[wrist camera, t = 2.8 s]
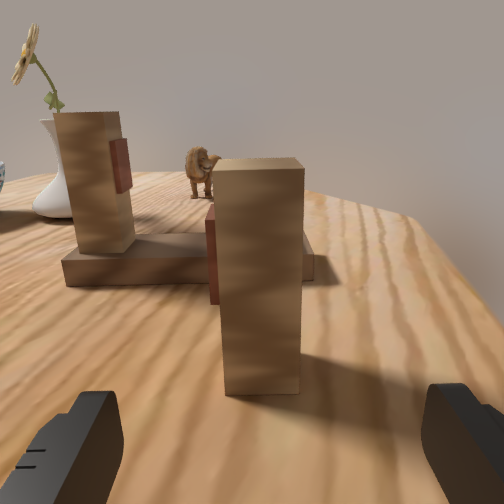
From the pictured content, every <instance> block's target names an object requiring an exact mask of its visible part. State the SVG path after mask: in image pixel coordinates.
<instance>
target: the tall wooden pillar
mask: <svg viewBox="0 0 504 504" xmlns="http://www.w3.org/2000/svg"><path fill="white" fill-rule="evenodd" d="M304 172H305V168H304V167H303V166H302V165H301V164H300V163H299V162H298V161H297V160H296V159H295V158H258V159H257V158H255V159H219V160H218V162H217V163H216V165H215V166H214V168H213V170H212V180H213V197H214V204H211V206H210V208H209V211H208V213H207V216H206V218H205V229H206V244H207V258H208V273H209V288H210V302H211V305H220V316H221V333H222V350H223V367H224V384H225V396H230V395H272V394H299V389H300V346H301V303H302V260H303V217H304V174H305V173H304Z"/></svg>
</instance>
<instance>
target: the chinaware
mask: <svg viewBox="0 0 504 504" xmlns="http://www.w3.org/2000/svg"><path fill="white" fill-rule="evenodd" d="M4 175H5V166H4V163H3V162H0V192H1V189H2V186H3V183H4Z"/></svg>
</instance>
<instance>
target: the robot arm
mask: <svg viewBox="0 0 504 504" xmlns="http://www.w3.org/2000/svg"><path fill="white" fill-rule="evenodd" d="M421 440H422V446H423V450H424V453H425V456H426V458H427V460H428V462H429V464H430V466H431V468H432V470H433V472H434V474H435V476H436V478H437V480H438V482H439V484H440V486H441V488H442V490H443V491H444V493H445V495H446V497H447V499H448V501H449V503H450V504H504V415H503V414H502V413H500V412H499V411H498V410H496V409H495V408H493V407H492V406H491V405H489V404H483V405H481V404H480V402H479V401H478V400H477V398H476V397H475V396H474V395H473V393H472V392H471V391H470V390H469V388H468V387H467V386H466V385H465V384H463V383H447V384H431V385H430V386H429V388H428V392H427V398H426V404H425V410H424V416H423V422H422V428H421ZM123 448H124V437H123V431H122V426H121V420H120V415H119V409H118V404H117V398H116V395H115V393H114V391H84V392H81V393H80V394H79V396H78V397H77V399H76V401H75V402H74V404H73V406H72V407H71V409H70V411H69V412H68V413H67V414H57V415H56V416H55V417H54V418H53V419H52V420H50V421H49V422H48V423H47V424H46V425H45V426H43V427H42V428H41V429H40V430H39V431H38V433H37V434H36V436H35V437H34V439H33V440H32V442H31V443H30V445H29V446H28V448H27V449H26V454H23V456H22V457H21V459H20V460H19V462H18V463H17V465H16V466H15V467H16V468H15V470H14V471H12V472H11V474H10V475H9V477H8V478H7V480H6V481H5V483H4V485H3V486H2V488H1V489H0V504H106V502H107V500H108V497H109V494H110V491H111V489H112V486H113V483H114V480H115V478H116V475H117V472H118V469H119V467H120V464H121V460H122V456H123Z"/></svg>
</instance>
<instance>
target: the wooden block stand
mask: <svg viewBox="0 0 504 504" xmlns="http://www.w3.org/2000/svg"><path fill="white" fill-rule="evenodd" d="M53 117H54V122H55V127H56V132H57V138H58V143H59V148H60V154H61V159H62V164H63V169H64V175H65V180H66V185H67V190H68V196H69V201H70V206H71V211H72V217H73V222H74V227H75V232H76V238H77V243H78V247H77V248H76V249H74V250H73V251H72V252H71V253H69V254H68V255H67V256H66V257H64V258H63V259H62V260H61V263H62V267H63V272H64V277H65V282H66V286H100V285H141V284H182V283H209V273H208V258H207V244H206V233H174V234H135V229H134V221H133V214H132V206H131V199H130V191H129V189H130V188H132V187H133V184H132V177H131V169H130V162H129V154H128V146H127V139H125V138H123V139H122V132H121V125H120V117H119V112H79V113H78V112H76V113H53ZM313 273H314V253H313V250H312V248H311V246H310V244H309V241H308V239H307V237H306V235H305V233H304V230H303V260H302V281H306V280H313Z"/></svg>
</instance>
